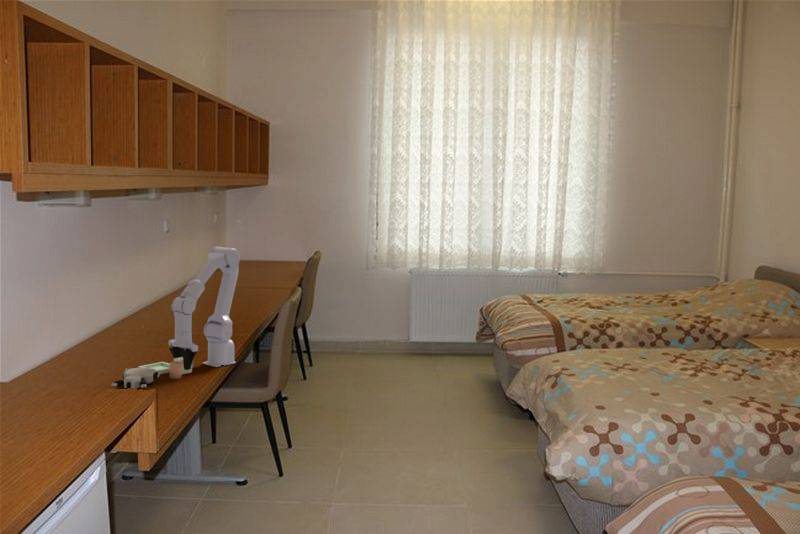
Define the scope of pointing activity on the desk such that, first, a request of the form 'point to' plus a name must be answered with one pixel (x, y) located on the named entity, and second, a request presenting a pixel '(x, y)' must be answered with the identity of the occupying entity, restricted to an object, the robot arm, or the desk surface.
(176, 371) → the pink rounded capsule
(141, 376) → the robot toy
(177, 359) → the cream block
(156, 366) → the tray
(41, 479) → the desk surface
